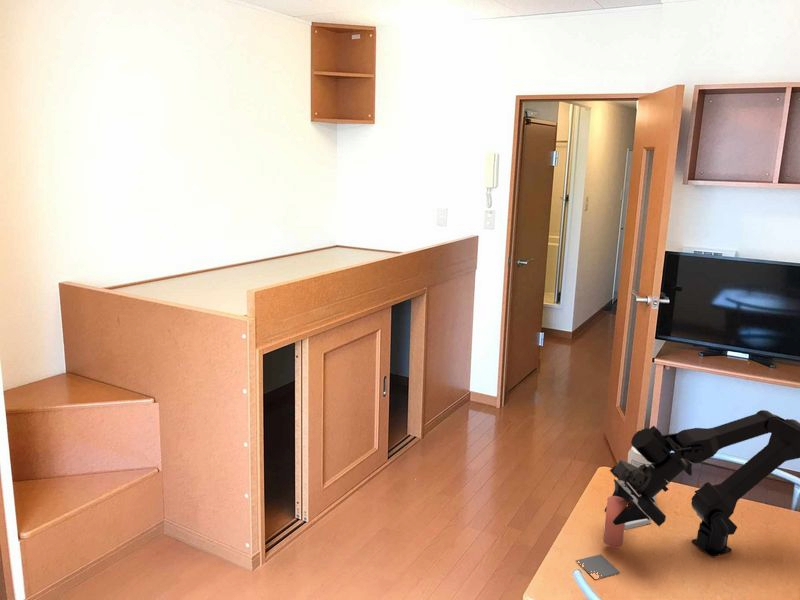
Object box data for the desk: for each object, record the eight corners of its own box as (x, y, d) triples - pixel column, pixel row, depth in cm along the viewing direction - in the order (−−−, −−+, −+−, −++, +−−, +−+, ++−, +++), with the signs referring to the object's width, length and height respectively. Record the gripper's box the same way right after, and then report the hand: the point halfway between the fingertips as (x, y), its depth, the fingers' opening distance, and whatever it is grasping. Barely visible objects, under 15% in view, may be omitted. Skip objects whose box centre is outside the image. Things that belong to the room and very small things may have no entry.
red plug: (614, 535, 156) (618, 494, 154) (626, 545, 153) (631, 504, 150) (599, 538, 155) (603, 497, 152) (611, 549, 151) (615, 507, 148)
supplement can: (617, 494, 179) (622, 445, 175) (642, 490, 181) (648, 441, 178) (636, 510, 171) (641, 459, 168) (661, 505, 174) (668, 455, 170)
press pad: (600, 555, 153) (600, 554, 153) (620, 573, 146) (620, 572, 146) (575, 561, 150) (576, 560, 150) (594, 580, 144) (594, 579, 144)
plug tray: (634, 511, 171) (636, 498, 170) (650, 523, 166) (652, 510, 165) (609, 516, 168) (611, 504, 167) (625, 529, 163) (626, 516, 162)
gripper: (621, 434, 157) (574, 476, 159) (658, 472, 139) (604, 520, 141) (648, 462, 160) (602, 503, 162) (688, 503, 142) (635, 549, 144)
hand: (609, 517), depth 152 cm, fingers closed on red plug, 4 cm apart
